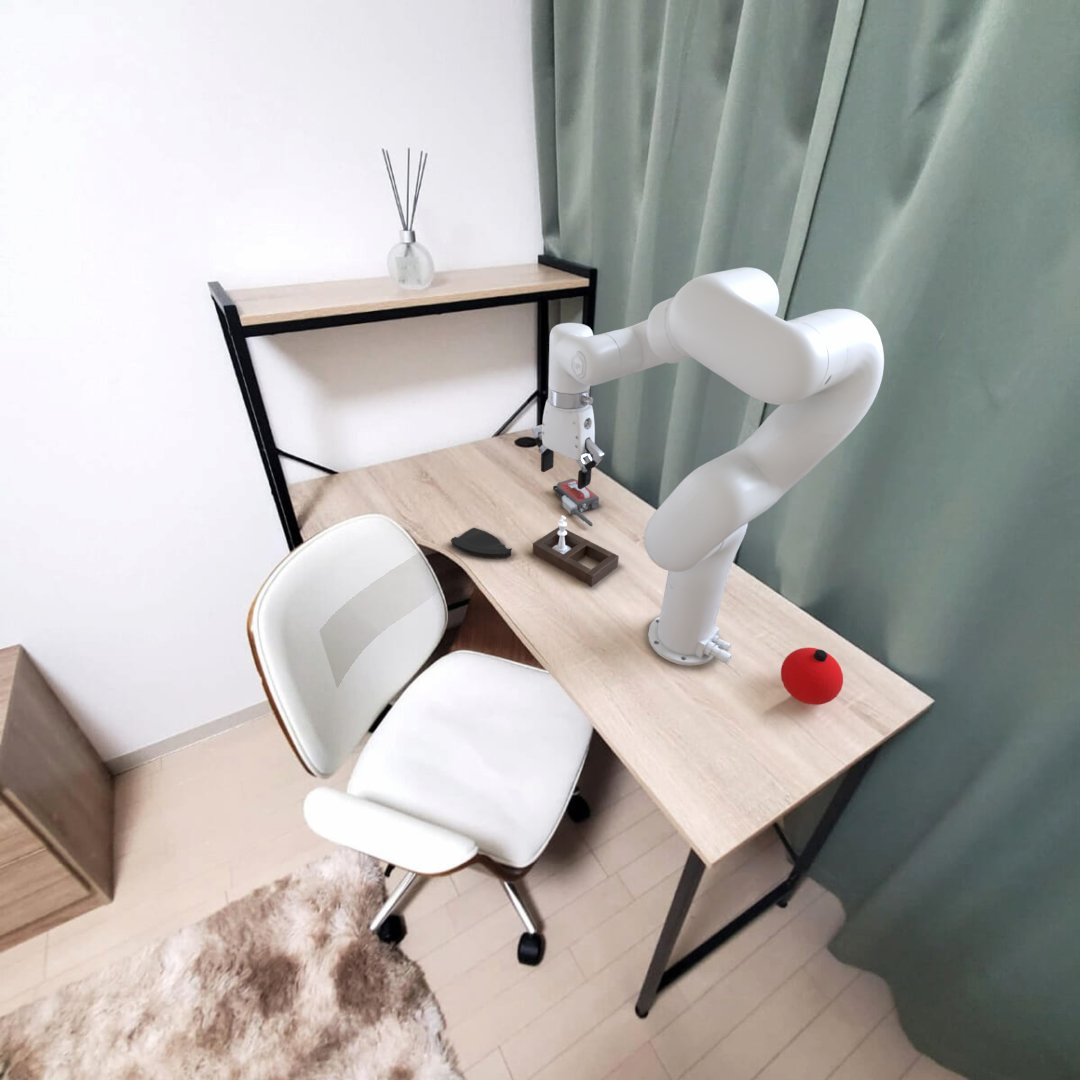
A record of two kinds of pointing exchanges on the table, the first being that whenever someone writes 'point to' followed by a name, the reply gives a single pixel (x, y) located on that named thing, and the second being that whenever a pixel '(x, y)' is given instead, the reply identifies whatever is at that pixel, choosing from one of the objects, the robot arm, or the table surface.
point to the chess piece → (562, 537)
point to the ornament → (812, 676)
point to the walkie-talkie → (576, 498)
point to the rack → (576, 556)
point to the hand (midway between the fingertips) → (564, 477)
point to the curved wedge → (480, 544)
